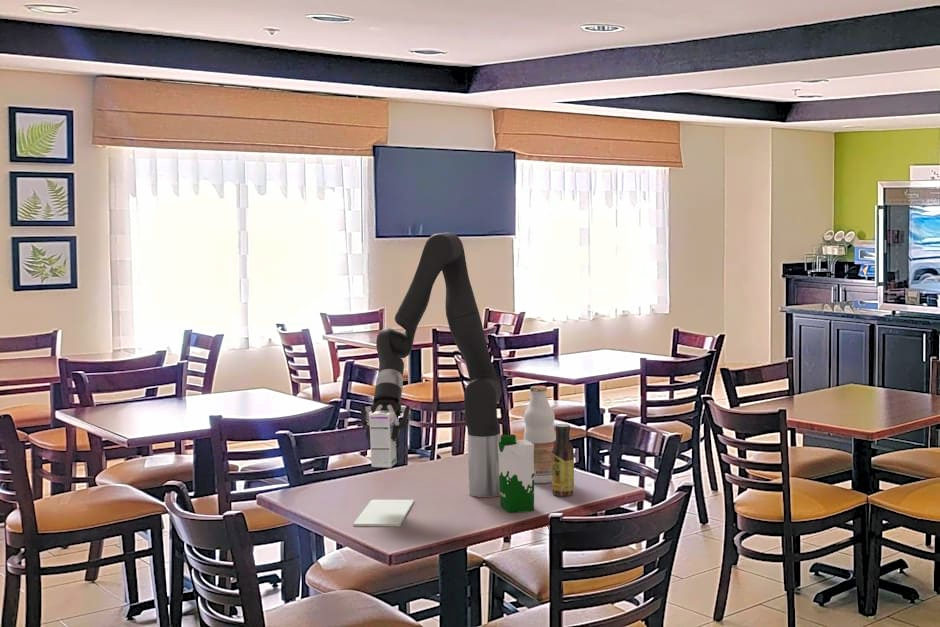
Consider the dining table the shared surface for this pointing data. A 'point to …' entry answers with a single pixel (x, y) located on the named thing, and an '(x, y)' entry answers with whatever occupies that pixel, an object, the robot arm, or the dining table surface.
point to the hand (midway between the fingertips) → (382, 439)
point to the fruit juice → (540, 433)
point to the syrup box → (382, 439)
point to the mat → (384, 513)
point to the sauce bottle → (562, 462)
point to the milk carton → (516, 474)
